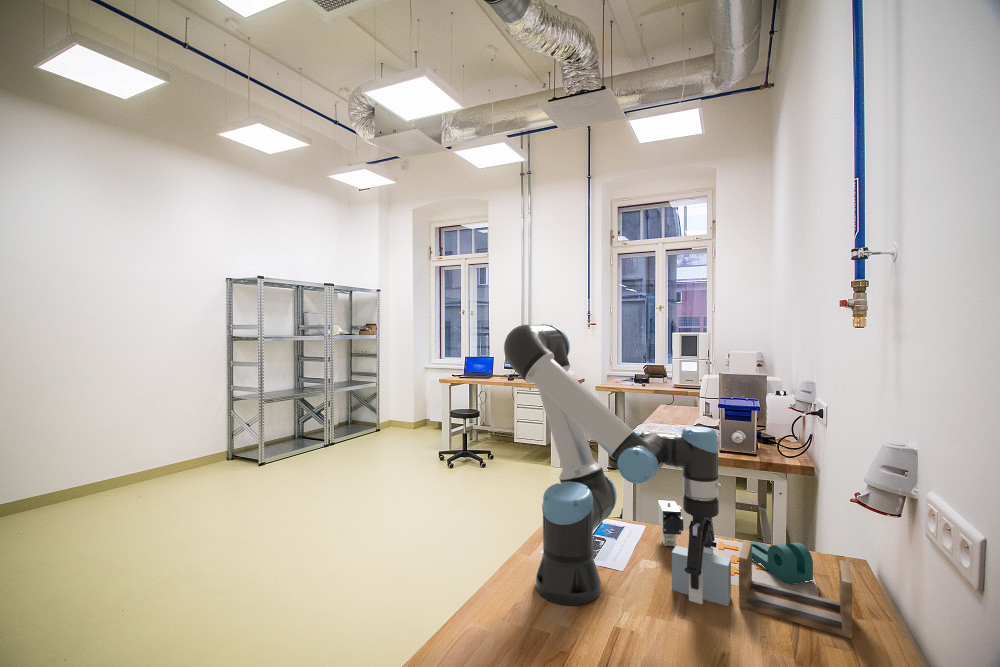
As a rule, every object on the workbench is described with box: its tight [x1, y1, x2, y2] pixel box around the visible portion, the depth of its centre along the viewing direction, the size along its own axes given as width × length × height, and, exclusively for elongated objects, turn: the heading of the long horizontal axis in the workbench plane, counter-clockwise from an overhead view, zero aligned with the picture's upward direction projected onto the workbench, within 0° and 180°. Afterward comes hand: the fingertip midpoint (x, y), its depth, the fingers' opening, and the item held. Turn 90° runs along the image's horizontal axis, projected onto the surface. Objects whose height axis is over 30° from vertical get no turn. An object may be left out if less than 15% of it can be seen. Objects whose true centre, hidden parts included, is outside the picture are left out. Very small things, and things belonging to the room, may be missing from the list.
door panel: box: [671, 545, 732, 607], centre depth 109 cm, size 12×4×9 cm, turn 57°
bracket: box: [752, 541, 814, 585], centre depth 122 cm, size 18×7×8 cm, turn 11°
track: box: [738, 539, 853, 639], centre depth 103 cm, size 20×10×11 cm, turn 57°
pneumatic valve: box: [657, 499, 684, 548], centre depth 134 cm, size 6×12×12 cm, turn 170°
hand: (701, 587), depth 109 cm, fingers open, 13 cm apart
